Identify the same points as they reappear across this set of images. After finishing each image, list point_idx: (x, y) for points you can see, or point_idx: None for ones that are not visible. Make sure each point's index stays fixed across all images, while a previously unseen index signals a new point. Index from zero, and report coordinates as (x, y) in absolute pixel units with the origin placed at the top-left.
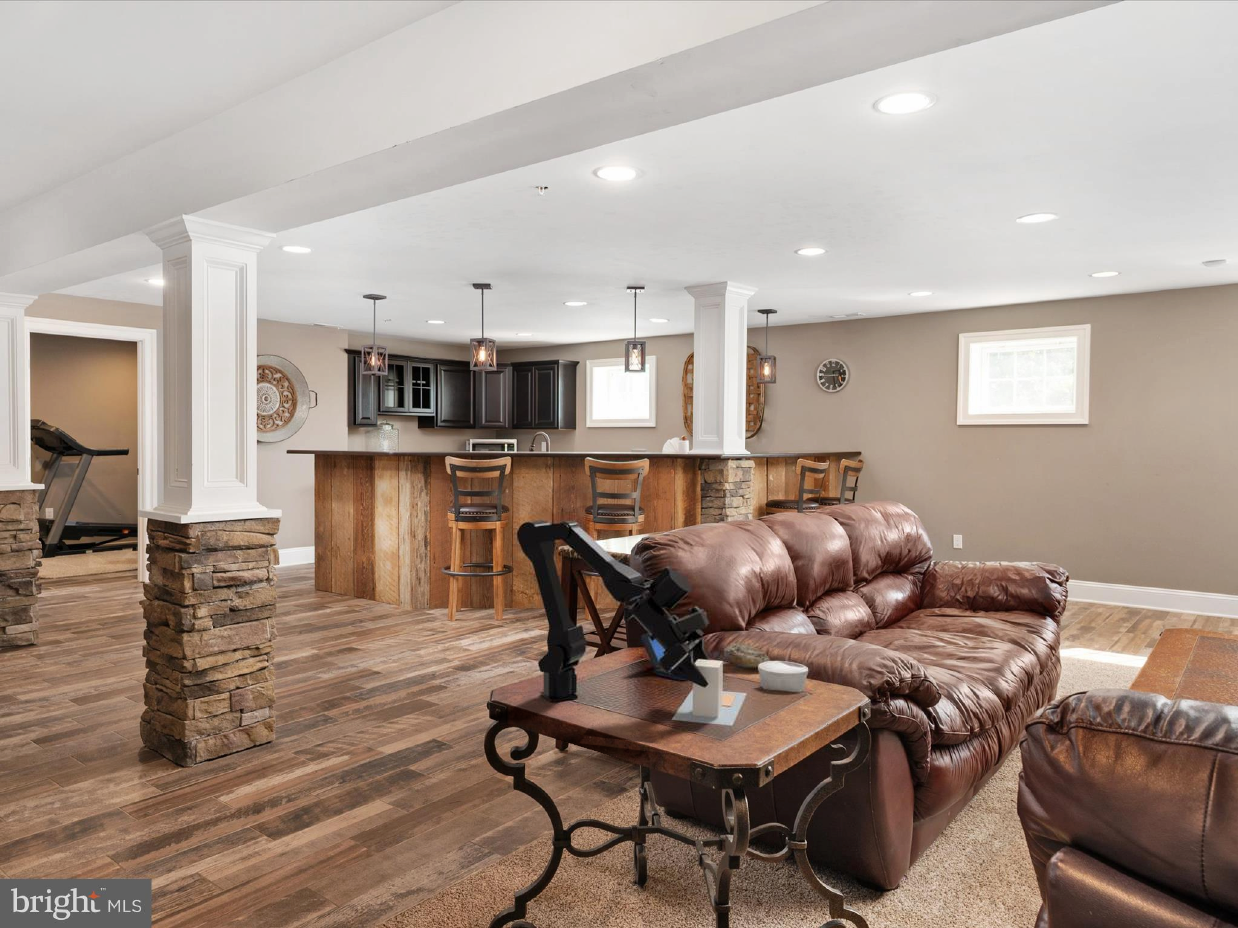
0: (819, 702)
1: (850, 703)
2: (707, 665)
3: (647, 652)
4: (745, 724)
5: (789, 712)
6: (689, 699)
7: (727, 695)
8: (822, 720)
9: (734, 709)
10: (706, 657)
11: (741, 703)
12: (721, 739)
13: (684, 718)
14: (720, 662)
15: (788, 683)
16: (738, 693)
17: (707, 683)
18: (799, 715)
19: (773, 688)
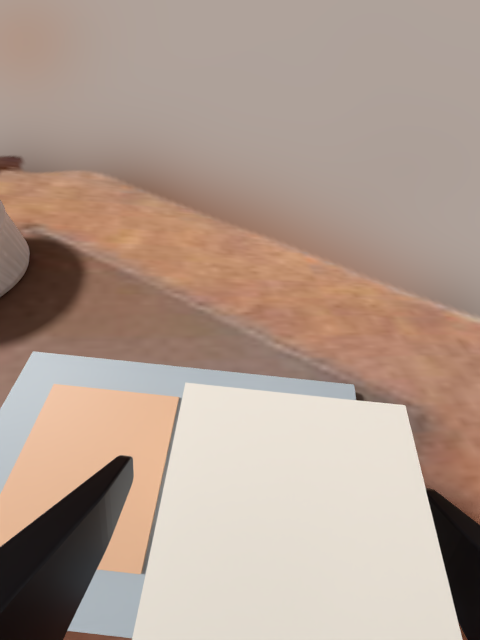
0: (98, 217)
1: (108, 181)
2: (388, 536)
3: None
4: (276, 357)
5: (168, 266)
6: (83, 603)
7: (57, 414)
8: (212, 222)
9: (205, 384)
10: (9, 602)
11: (141, 365)
12: (417, 415)
13: None
14: (233, 400)
15: (13, 240)
16: (30, 377)
17: (438, 493)
18: (187, 251)
19: (2, 283)
